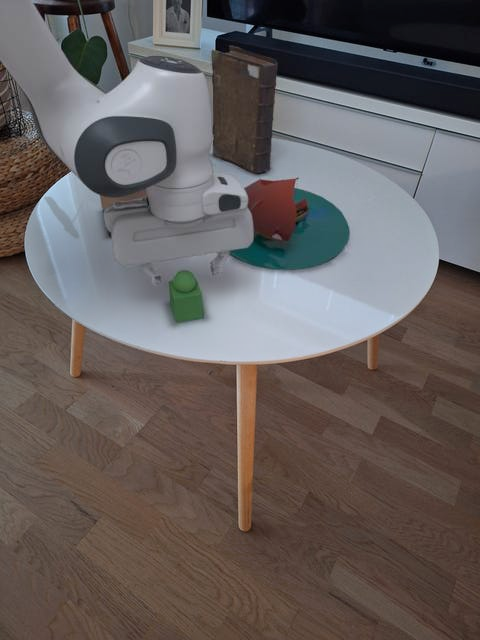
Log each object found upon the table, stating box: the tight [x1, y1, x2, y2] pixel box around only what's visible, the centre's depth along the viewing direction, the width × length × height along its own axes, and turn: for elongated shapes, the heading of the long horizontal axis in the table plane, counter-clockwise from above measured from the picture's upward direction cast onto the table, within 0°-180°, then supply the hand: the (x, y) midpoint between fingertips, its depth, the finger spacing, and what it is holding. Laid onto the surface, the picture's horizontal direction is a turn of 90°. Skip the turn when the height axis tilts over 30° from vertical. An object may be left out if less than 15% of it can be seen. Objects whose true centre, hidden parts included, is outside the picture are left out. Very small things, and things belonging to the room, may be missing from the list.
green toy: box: [167, 269, 204, 324], centre depth 73 cm, size 4×4×8 cm
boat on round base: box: [230, 177, 351, 271], centre depth 92 cm, size 28×28×11 cm
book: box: [210, 45, 279, 174], centre depth 111 cm, size 17×7×25 cm, turn 39°
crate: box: [99, 189, 147, 238], centre depth 94 cm, size 12×10×6 cm
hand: (186, 277), depth 71 cm, fingers open, 8 cm apart
